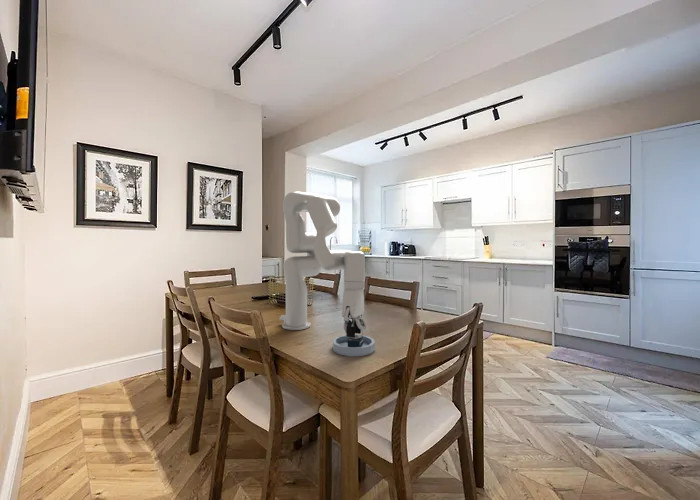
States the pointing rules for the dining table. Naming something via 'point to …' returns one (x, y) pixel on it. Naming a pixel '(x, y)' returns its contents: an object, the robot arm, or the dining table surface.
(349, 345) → the watch
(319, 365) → the dining table surface
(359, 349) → the dish
